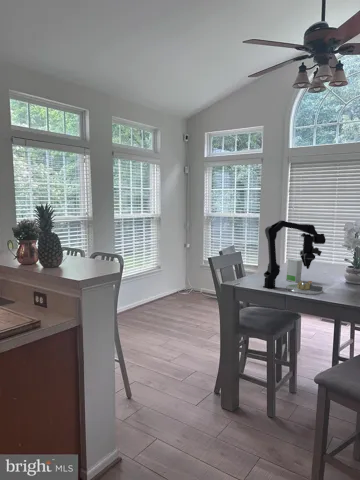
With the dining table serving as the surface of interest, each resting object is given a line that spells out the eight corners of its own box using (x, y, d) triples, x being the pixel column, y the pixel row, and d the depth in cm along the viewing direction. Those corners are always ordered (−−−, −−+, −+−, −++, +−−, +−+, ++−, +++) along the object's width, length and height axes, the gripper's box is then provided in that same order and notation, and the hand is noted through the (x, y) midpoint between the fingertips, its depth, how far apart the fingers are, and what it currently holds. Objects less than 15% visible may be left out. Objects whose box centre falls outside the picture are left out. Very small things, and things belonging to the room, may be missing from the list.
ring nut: (295, 288, 224) (295, 282, 223) (299, 285, 230) (300, 280, 230) (320, 292, 215) (320, 286, 214) (323, 289, 221) (324, 283, 221)
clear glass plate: (305, 295, 210) (305, 288, 209) (278, 287, 229) (278, 281, 228) (330, 292, 220) (330, 285, 220) (302, 284, 239) (303, 278, 239)
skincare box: (285, 280, 252) (286, 258, 250) (291, 279, 256) (292, 258, 254) (296, 282, 245) (297, 260, 244) (301, 281, 249) (302, 259, 248)
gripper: (324, 246, 218) (322, 271, 219) (317, 242, 236) (316, 265, 238) (305, 245, 220) (304, 269, 221) (300, 242, 238) (298, 264, 240)
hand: (306, 267), depth 230 cm, fingers open, 9 cm apart
